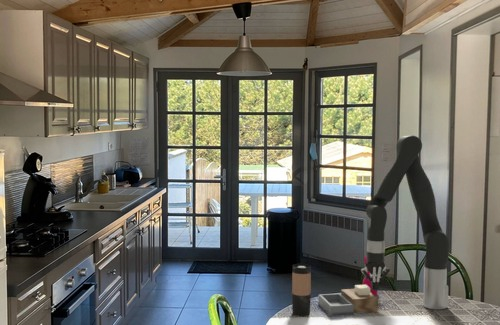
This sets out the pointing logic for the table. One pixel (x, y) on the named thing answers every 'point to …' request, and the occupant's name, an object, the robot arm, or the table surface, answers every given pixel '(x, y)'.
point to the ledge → (361, 301)
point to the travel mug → (301, 289)
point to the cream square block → (362, 289)
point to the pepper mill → (366, 281)
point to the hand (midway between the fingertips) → (374, 290)
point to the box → (335, 304)
